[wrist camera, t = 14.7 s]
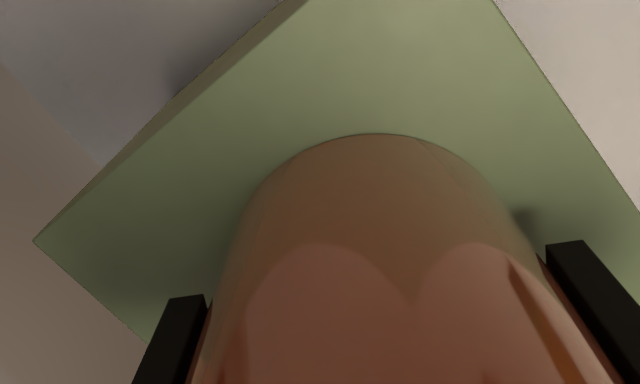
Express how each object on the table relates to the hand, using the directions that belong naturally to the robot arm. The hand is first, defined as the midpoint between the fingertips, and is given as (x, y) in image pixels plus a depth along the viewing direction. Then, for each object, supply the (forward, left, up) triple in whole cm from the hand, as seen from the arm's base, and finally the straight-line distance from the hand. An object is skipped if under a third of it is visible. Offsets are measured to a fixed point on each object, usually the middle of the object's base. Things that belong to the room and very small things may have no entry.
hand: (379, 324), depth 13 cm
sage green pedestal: (0, 0, -17) cm, 17 cm away
